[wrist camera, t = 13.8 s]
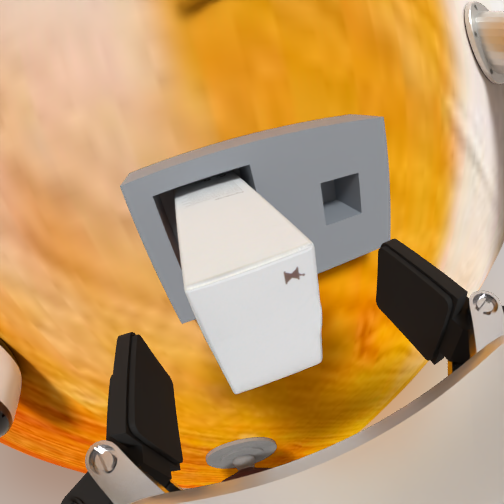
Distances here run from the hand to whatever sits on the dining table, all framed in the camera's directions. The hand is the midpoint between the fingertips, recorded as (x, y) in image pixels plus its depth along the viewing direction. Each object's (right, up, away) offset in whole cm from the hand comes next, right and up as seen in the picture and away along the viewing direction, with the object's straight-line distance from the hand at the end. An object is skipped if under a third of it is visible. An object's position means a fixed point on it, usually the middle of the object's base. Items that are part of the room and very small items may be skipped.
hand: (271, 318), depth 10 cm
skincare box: (-3, +5, +10) cm, 12 cm away
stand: (0, +6, +11) cm, 12 cm away
